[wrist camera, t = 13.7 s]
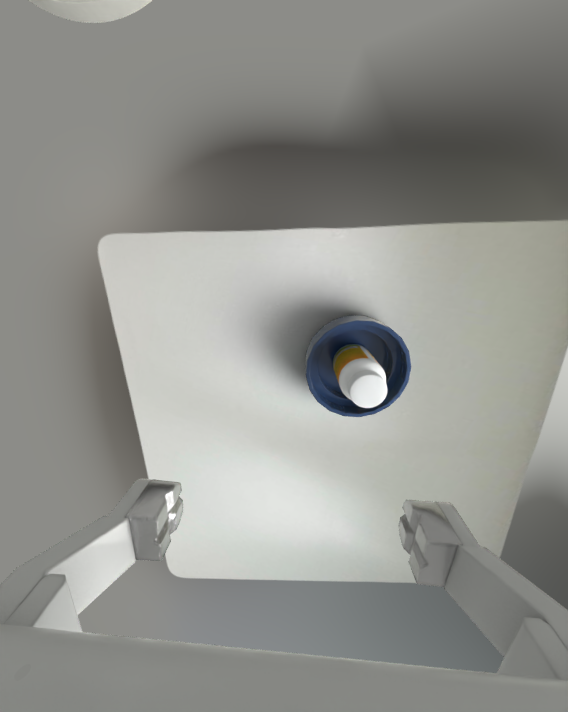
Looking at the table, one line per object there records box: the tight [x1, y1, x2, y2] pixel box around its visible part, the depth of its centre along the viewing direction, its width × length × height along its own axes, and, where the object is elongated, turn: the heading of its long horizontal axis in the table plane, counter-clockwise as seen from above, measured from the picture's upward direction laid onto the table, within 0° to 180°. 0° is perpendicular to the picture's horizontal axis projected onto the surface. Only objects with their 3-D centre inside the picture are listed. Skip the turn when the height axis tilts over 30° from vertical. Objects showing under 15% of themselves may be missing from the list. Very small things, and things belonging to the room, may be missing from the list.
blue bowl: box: [305, 315, 411, 417], centre depth 36 cm, size 13×13×4 cm
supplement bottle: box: [333, 344, 387, 408], centre depth 33 cm, size 5×5×10 cm
